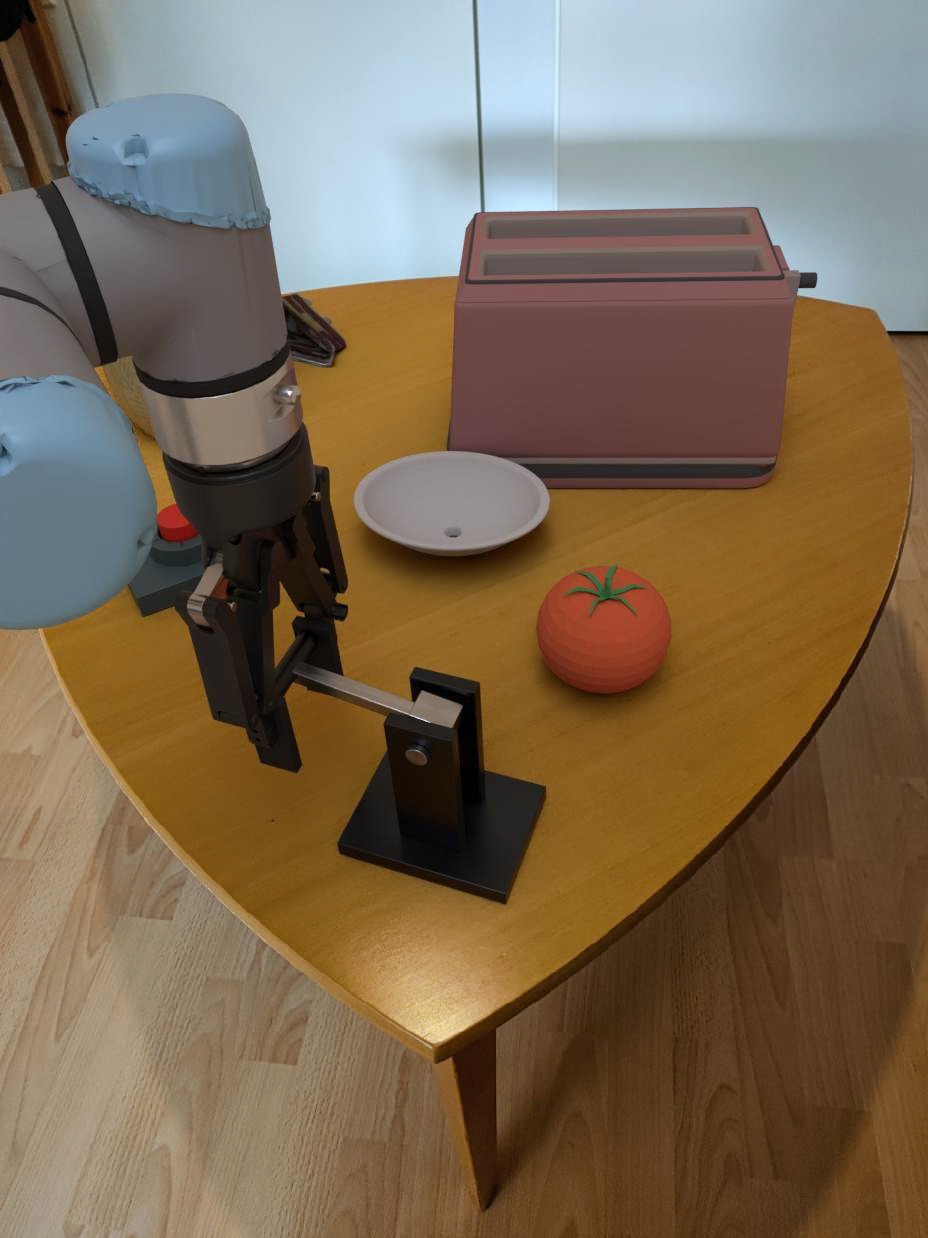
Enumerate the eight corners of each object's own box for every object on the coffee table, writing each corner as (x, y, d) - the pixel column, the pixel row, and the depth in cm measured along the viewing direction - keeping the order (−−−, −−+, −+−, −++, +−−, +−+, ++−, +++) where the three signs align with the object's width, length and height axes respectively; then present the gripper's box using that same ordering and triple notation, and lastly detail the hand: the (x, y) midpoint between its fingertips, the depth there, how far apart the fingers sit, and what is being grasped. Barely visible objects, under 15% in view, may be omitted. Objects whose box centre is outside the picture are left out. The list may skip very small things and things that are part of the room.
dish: (338, 580, 88) (331, 536, 85) (383, 485, 99) (378, 442, 95) (534, 603, 85) (534, 559, 82) (560, 503, 95) (561, 459, 92)
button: (168, 548, 87) (163, 532, 86) (156, 526, 89) (151, 511, 88) (207, 534, 88) (203, 518, 87) (194, 513, 91) (190, 498, 89)
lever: (256, 710, 62) (254, 686, 61) (300, 645, 66) (299, 621, 65) (436, 777, 60) (439, 754, 58) (470, 706, 64) (474, 682, 62)
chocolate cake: (371, 345, 120) (315, 259, 119) (339, 356, 114) (279, 266, 113) (322, 388, 126) (268, 306, 125) (289, 400, 120) (232, 314, 119)
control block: (143, 617, 86) (130, 582, 83) (112, 554, 93) (99, 520, 90) (272, 568, 90) (264, 533, 87) (234, 511, 97) (225, 477, 94)
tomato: (681, 646, 81) (695, 551, 74) (643, 736, 74) (655, 641, 67) (562, 614, 84) (565, 520, 77) (515, 697, 77) (514, 603, 71)
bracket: (338, 854, 68) (310, 732, 59) (391, 755, 74) (372, 631, 65) (506, 905, 64) (502, 784, 56) (546, 797, 70) (549, 672, 62)
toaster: (800, 491, 95) (847, 286, 81) (445, 490, 97) (431, 292, 83) (768, 386, 109) (804, 196, 95) (458, 388, 111) (448, 203, 97)
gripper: (198, 562, 44) (288, 857, 60) (375, 353, 56) (410, 642, 72) (58, 531, 46) (181, 824, 62) (258, 337, 59) (318, 621, 74)
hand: (304, 725), depth 67 cm, fingers closed on lever, 6 cm apart
